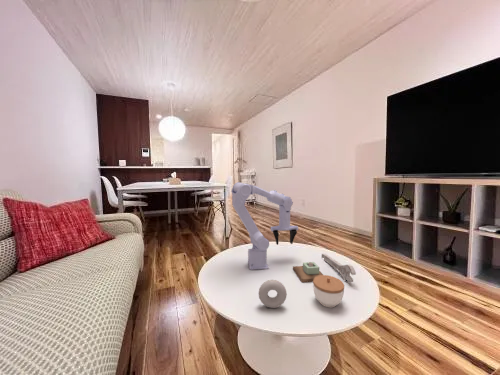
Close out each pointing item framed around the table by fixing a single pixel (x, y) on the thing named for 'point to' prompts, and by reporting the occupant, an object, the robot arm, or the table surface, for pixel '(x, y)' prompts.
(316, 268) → the collar
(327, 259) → the wrench
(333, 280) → the lidded jar
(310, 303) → the table surface
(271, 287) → the donut
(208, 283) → the table surface
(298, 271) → the peg base
